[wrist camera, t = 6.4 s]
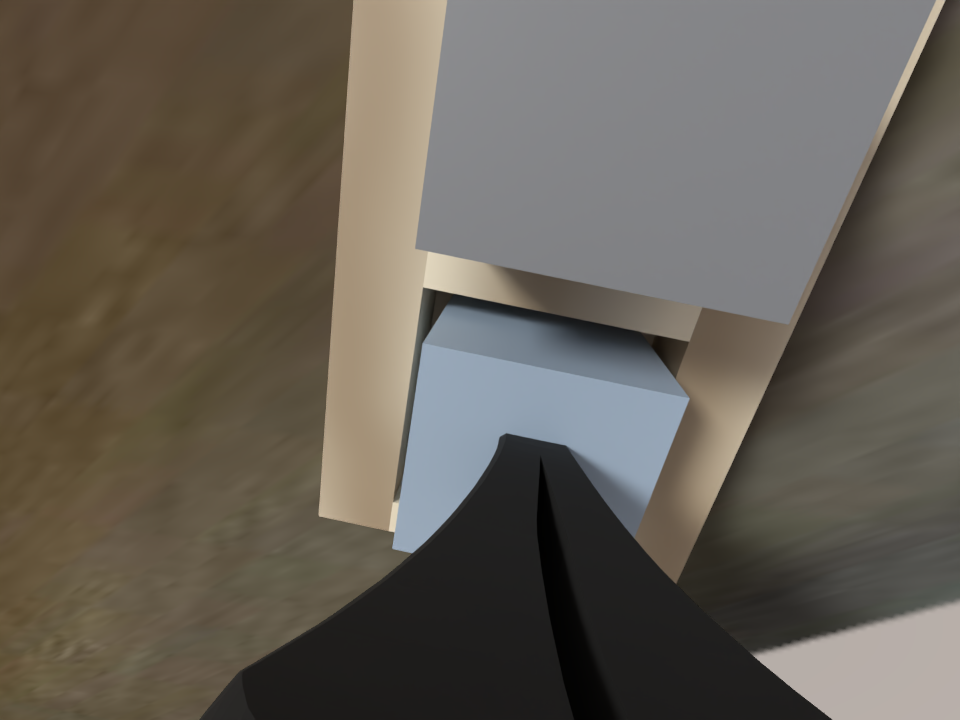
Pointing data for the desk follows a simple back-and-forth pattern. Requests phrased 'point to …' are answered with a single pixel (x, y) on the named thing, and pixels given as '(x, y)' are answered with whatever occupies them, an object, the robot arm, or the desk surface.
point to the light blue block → (533, 408)
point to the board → (436, 277)
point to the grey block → (658, 139)
